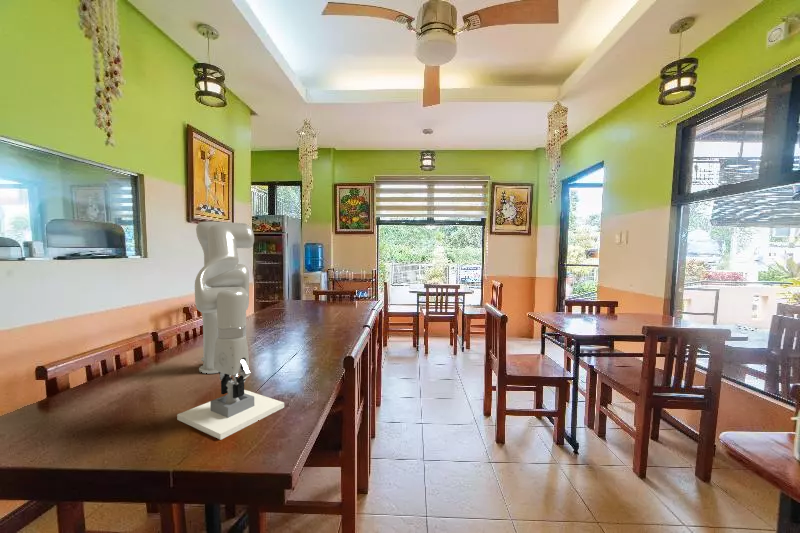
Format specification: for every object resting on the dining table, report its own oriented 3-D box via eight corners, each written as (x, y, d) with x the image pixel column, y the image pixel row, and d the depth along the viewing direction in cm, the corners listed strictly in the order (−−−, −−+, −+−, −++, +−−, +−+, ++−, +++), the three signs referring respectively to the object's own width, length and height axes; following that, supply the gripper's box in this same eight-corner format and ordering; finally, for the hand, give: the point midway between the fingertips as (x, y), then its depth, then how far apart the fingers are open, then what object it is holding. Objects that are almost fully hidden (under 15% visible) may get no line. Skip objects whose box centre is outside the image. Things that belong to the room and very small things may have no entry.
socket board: (177, 419, 91) (177, 404, 91) (242, 393, 109) (242, 380, 108) (220, 439, 81) (220, 423, 81) (284, 407, 99) (284, 393, 99)
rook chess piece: (244, 405, 97) (244, 379, 96) (232, 412, 92) (232, 384, 92) (232, 403, 98) (232, 377, 98) (220, 410, 94) (219, 382, 93)
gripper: (201, 331, 95) (202, 393, 96) (238, 339, 87) (239, 406, 87) (226, 326, 102) (227, 384, 102) (262, 333, 93) (263, 396, 94)
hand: (232, 393), depth 95 cm, fingers open, 4 cm apart
